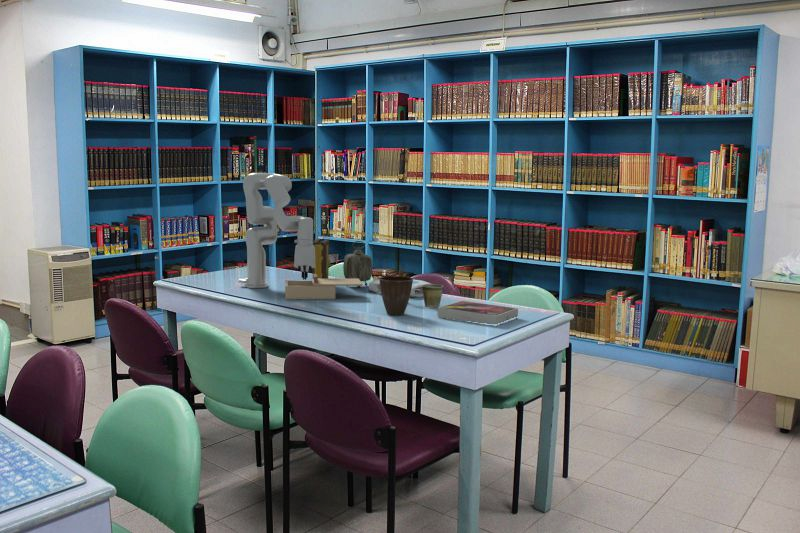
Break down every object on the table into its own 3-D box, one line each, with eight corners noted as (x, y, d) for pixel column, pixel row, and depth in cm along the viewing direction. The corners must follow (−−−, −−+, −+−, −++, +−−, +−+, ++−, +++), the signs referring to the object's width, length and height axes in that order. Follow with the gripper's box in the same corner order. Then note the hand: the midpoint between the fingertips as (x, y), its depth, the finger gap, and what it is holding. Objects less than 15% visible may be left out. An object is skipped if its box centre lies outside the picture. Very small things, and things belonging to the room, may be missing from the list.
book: (326, 290, 372) (326, 242, 369) (309, 289, 373) (310, 242, 369) (330, 283, 394) (331, 238, 391) (315, 283, 394) (316, 238, 391)
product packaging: (495, 327, 294) (496, 316, 294) (437, 318, 310) (437, 307, 309) (517, 319, 312) (518, 308, 311) (461, 311, 328) (461, 300, 327)
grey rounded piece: (368, 285, 391) (369, 240, 388) (373, 288, 383) (374, 241, 379) (342, 286, 387) (343, 240, 383) (347, 288, 378) (347, 242, 375)
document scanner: (410, 299, 354) (410, 286, 353) (367, 292, 371) (368, 280, 370) (434, 294, 370) (435, 282, 369) (393, 287, 387) (393, 276, 387)
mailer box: (285, 299, 342) (285, 286, 341) (285, 293, 360) (285, 280, 359) (335, 299, 346) (335, 286, 345) (332, 293, 364) (332, 280, 363)
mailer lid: (313, 285, 343) (313, 278, 343) (311, 280, 361) (311, 273, 361) (362, 285, 347) (362, 278, 347) (358, 280, 365) (358, 273, 364)
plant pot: (371, 313, 314) (372, 277, 312) (394, 309, 325) (395, 274, 323) (396, 318, 304) (397, 282, 302) (418, 314, 315) (420, 278, 313)
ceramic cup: (439, 309, 328) (439, 288, 327) (418, 307, 332) (419, 286, 330) (447, 304, 340) (447, 284, 339) (427, 302, 344) (427, 282, 342)
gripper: (289, 243, 344) (289, 280, 347) (320, 243, 347) (320, 280, 349) (289, 241, 351) (289, 278, 354) (319, 241, 354) (319, 278, 357)
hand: (304, 279), depth 352 cm, fingers closed
